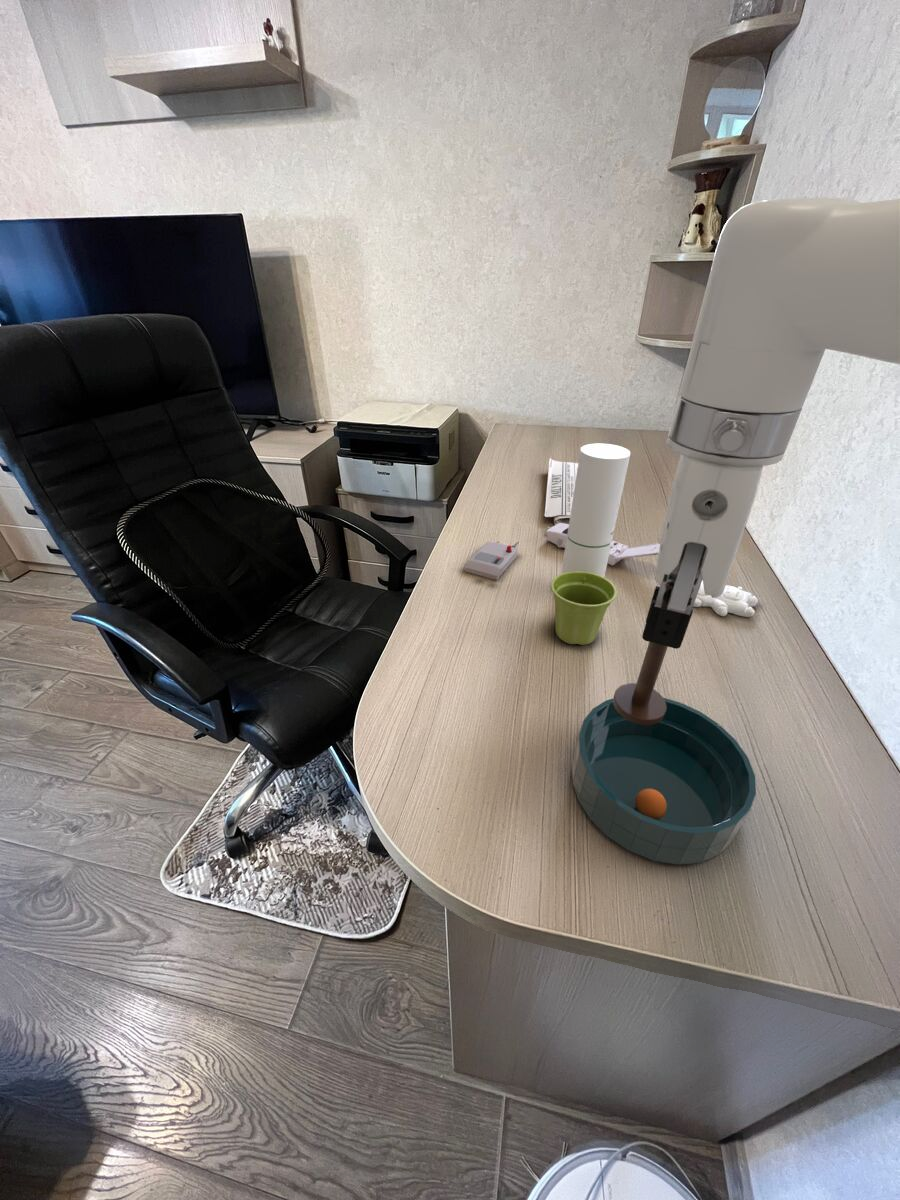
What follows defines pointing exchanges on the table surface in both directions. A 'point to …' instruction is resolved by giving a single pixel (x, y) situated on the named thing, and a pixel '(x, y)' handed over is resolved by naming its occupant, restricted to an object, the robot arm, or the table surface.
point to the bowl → (663, 782)
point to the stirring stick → (643, 690)
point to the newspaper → (560, 490)
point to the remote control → (491, 560)
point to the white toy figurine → (728, 601)
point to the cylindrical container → (595, 507)
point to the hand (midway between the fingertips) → (662, 634)
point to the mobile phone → (616, 551)
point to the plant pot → (580, 605)
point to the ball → (651, 803)
